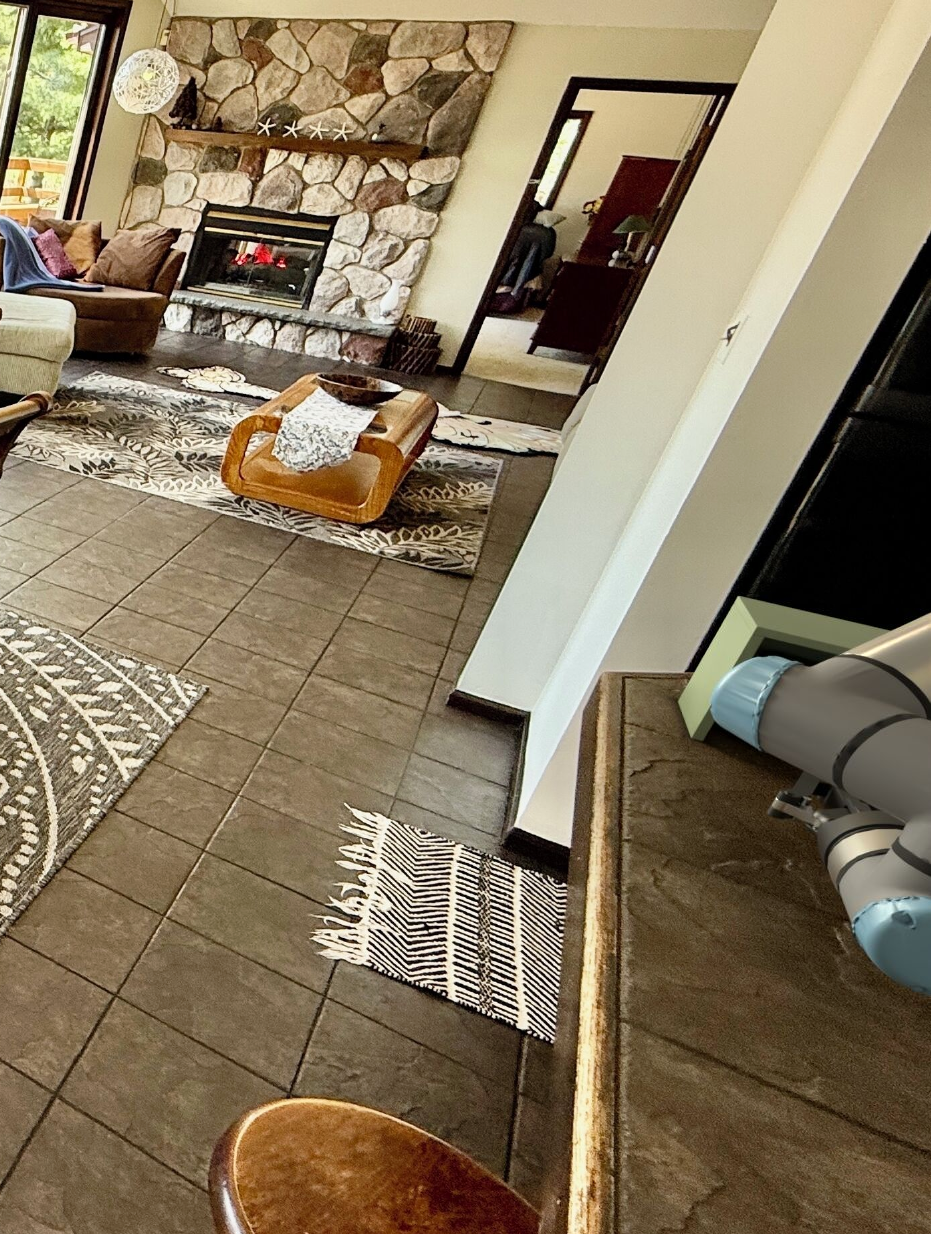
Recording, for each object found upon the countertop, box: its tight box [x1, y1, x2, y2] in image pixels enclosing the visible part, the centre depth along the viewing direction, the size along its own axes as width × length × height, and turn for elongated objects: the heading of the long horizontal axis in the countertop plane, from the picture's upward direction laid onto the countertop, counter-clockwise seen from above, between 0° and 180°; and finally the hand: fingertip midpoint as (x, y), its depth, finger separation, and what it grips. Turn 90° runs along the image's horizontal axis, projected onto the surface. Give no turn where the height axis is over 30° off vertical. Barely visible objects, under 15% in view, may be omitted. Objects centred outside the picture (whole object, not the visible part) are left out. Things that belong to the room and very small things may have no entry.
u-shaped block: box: [677, 595, 891, 742], centre depth 114 cm, size 13×12×15 cm
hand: (836, 768), depth 100 cm, fingers closed
